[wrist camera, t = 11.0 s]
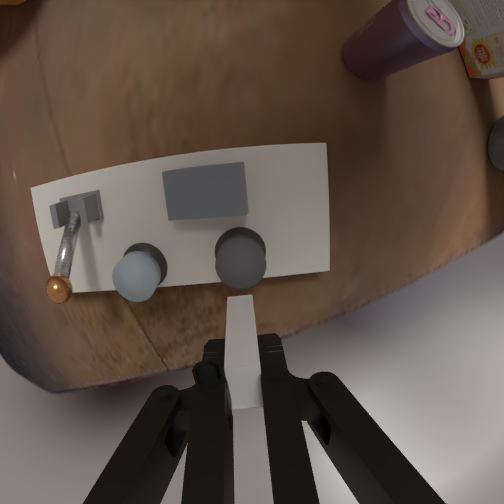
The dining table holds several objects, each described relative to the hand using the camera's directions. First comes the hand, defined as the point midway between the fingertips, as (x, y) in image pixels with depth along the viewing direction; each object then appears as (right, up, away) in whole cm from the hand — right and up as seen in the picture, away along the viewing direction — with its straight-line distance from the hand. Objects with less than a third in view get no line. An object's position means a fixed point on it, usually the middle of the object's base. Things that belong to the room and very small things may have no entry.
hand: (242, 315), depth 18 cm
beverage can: (+13, +26, +8) cm, 31 cm away
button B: (-10, +2, +9) cm, 14 cm away
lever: (-17, +8, +8) cm, 20 cm away
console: (-8, +8, +13) cm, 17 cm away
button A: (0, +3, +9) cm, 10 cm away
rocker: (-3, +9, +7) cm, 12 cm away
